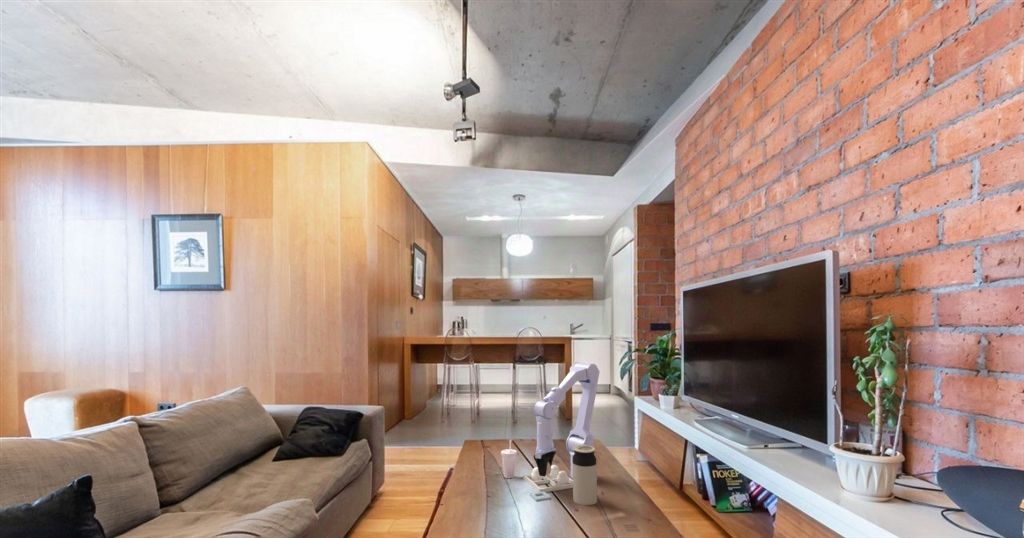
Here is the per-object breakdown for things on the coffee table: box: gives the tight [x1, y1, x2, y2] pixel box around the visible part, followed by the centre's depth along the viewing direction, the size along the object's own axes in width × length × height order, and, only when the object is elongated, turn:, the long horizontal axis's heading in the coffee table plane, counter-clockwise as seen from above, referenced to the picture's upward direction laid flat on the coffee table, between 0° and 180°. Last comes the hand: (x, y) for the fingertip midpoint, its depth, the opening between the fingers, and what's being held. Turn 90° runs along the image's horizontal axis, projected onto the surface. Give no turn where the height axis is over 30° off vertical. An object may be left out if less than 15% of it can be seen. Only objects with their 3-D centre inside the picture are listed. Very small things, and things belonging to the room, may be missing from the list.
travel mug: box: [572, 445, 598, 506], centre depth 154 cm, size 8×8×18 cm
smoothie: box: [500, 439, 518, 480], centre depth 179 cm, size 6×6×14 cm
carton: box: [522, 473, 573, 493], centre depth 169 cm, size 15×15×2 cm
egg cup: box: [529, 491, 552, 502], centre depth 156 cm, size 6×6×2 cm
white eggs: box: [530, 464, 570, 485], centre depth 170 cm, size 12×12×5 cm
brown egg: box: [546, 462, 551, 477], centre depth 166 cm, size 5×5×5 cm
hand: (545, 473), depth 165 cm, fingers closed on brown egg, 4 cm apart
